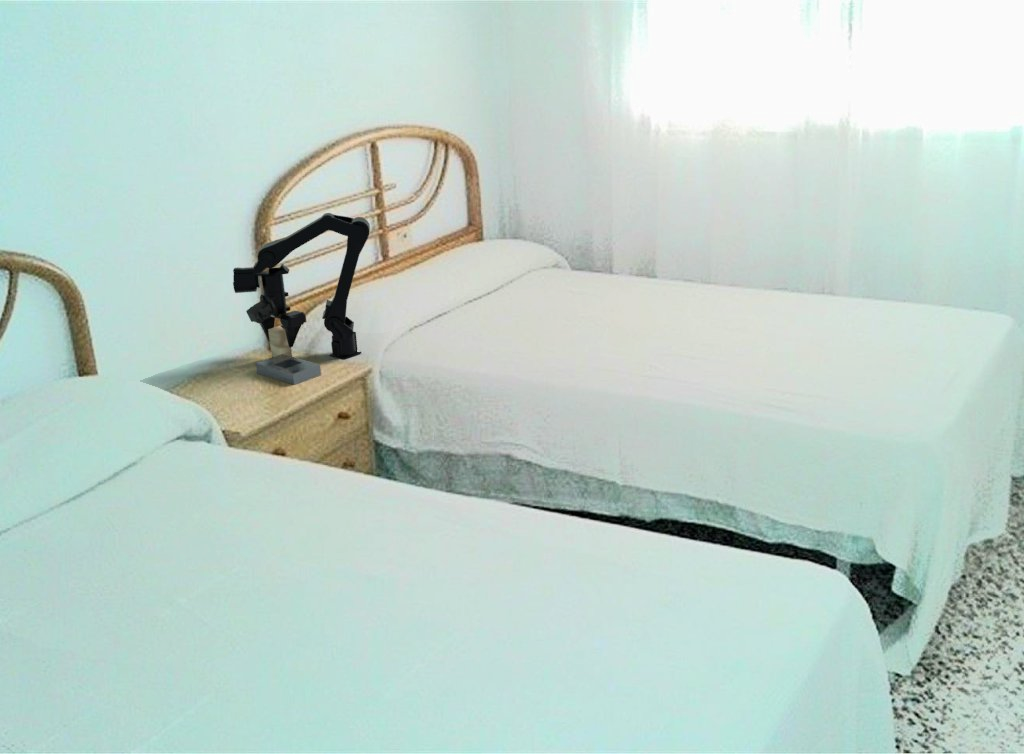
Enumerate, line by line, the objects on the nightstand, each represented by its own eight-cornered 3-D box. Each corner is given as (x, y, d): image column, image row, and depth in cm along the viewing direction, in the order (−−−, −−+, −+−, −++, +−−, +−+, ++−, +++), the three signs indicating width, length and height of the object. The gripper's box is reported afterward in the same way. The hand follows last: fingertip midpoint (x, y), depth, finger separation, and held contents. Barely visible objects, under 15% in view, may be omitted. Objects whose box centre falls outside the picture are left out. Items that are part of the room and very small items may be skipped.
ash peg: (283, 356, 293) (279, 325, 290) (292, 358, 291) (288, 328, 288) (272, 360, 290) (268, 329, 287) (280, 362, 288) (277, 331, 285)
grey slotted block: (283, 364, 286) (282, 354, 285) (321, 375, 276) (319, 364, 275) (257, 373, 280) (255, 362, 279) (294, 384, 270) (292, 373, 269)
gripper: (229, 292, 284) (236, 346, 289) (270, 301, 272) (277, 358, 278) (262, 283, 292) (269, 336, 297) (304, 292, 280) (310, 347, 286)
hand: (280, 344), depth 289 cm, fingers open, 9 cm apart
